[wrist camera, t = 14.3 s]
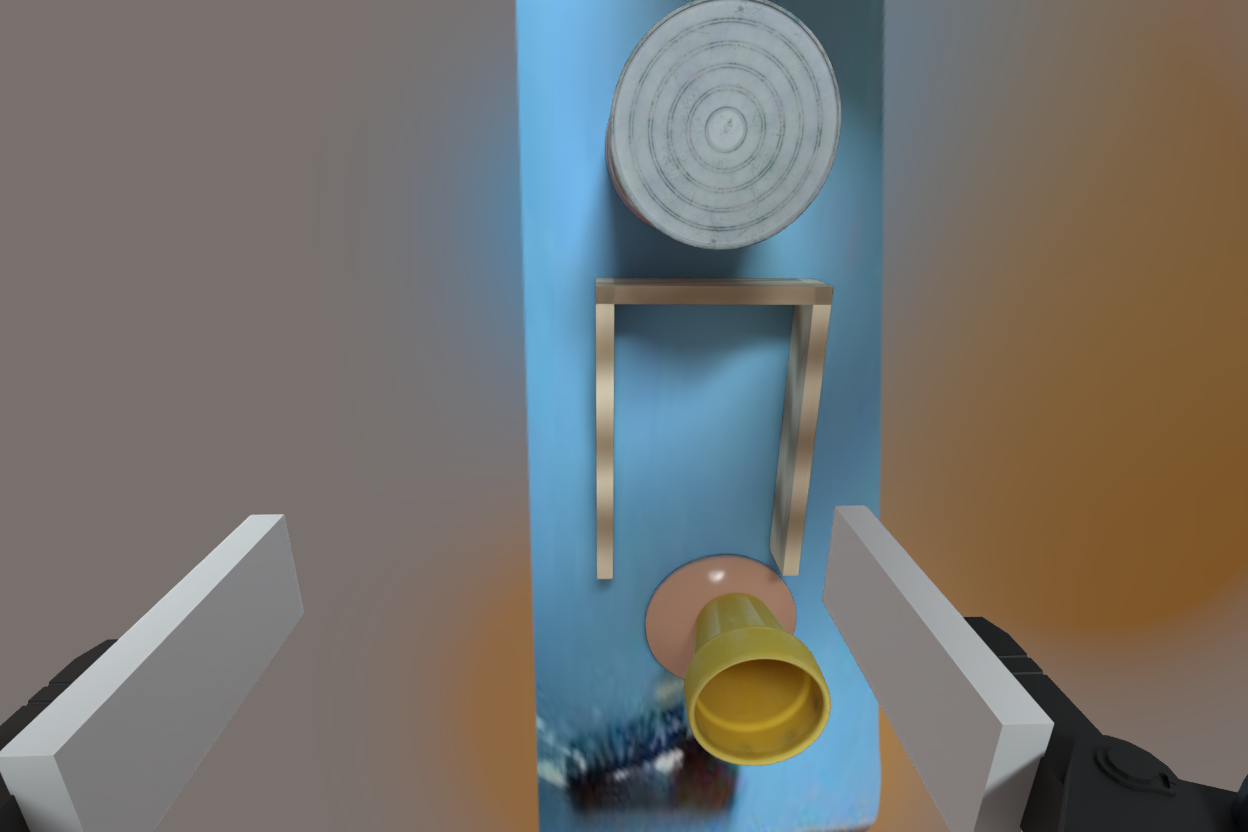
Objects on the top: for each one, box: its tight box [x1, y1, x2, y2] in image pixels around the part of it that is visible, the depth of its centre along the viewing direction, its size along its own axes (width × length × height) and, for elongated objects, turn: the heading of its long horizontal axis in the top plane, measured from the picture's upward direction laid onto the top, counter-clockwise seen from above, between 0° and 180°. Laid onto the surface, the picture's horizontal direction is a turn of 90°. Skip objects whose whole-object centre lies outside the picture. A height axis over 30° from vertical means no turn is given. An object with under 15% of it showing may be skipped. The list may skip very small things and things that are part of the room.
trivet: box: [645, 554, 796, 680], centre depth 54 cm, size 13×13×1 cm
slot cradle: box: [596, 278, 833, 579], centre depth 46 cm, size 22×16×4 cm
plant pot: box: [684, 593, 831, 766], centre depth 49 cm, size 10×10×10 cm
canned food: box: [605, 0, 841, 250], centre depth 36 cm, size 11×11×12 cm
